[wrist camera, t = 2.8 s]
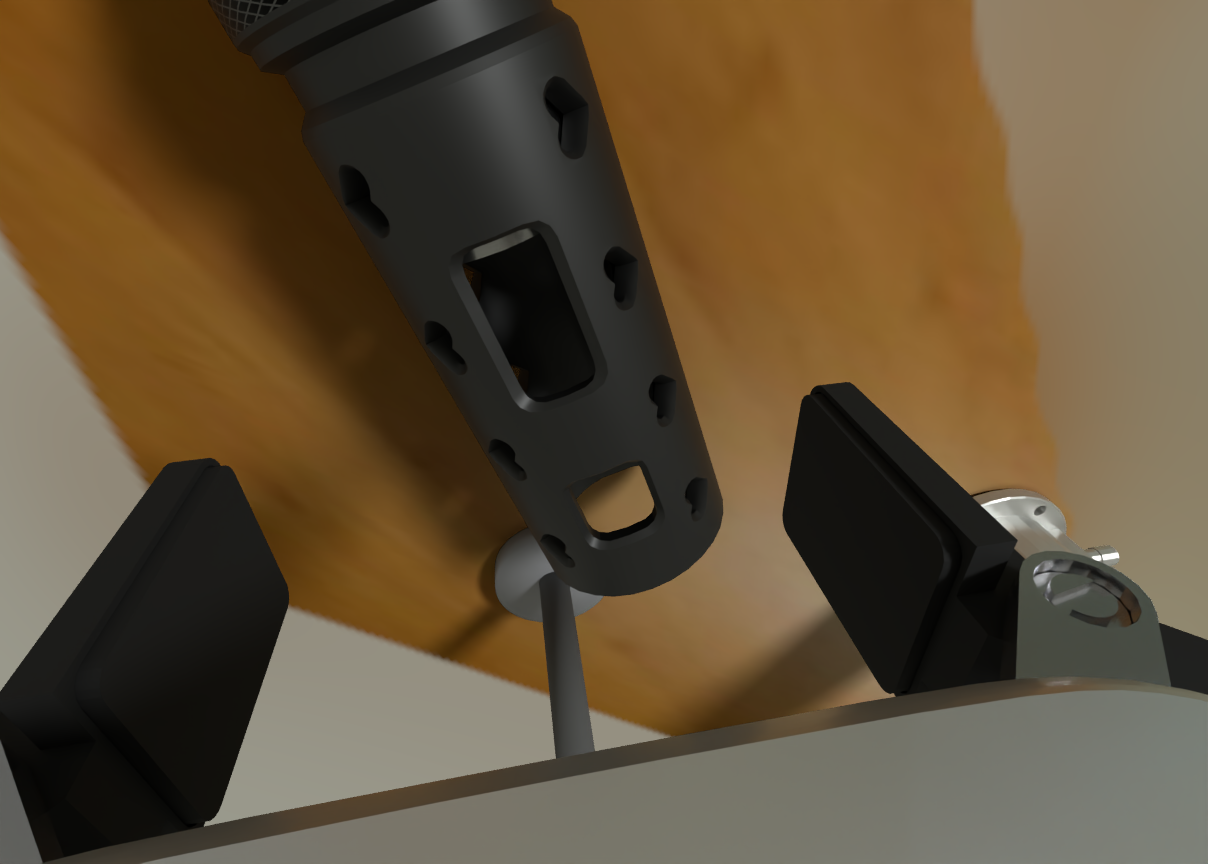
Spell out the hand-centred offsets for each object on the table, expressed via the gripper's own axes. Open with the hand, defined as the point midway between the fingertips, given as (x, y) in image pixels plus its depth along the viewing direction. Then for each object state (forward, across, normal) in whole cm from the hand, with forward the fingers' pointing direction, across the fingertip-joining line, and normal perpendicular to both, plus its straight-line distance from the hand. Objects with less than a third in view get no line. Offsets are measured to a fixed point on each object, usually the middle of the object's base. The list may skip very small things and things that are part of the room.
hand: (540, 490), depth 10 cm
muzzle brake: (+20, 0, 0) cm, 20 cm away
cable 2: (+19, 0, +21) cm, 29 cm away
